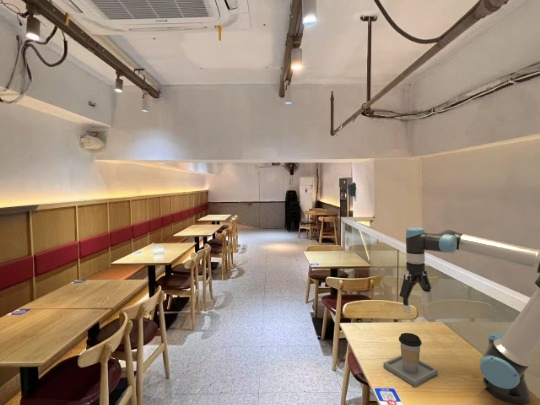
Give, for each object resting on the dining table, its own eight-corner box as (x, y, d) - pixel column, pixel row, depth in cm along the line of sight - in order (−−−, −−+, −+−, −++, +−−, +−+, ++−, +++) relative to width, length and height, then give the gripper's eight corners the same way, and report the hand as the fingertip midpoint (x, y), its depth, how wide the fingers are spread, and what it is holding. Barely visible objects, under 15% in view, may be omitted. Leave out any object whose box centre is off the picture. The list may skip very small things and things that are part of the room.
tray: (437, 375, 132) (437, 369, 132) (415, 387, 124) (415, 381, 124) (405, 357, 146) (405, 352, 146) (383, 367, 138) (383, 362, 138)
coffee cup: (424, 376, 129) (424, 343, 129) (401, 374, 131) (401, 341, 131) (418, 364, 138) (418, 332, 138) (396, 362, 140) (396, 331, 140)
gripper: (423, 256, 143) (424, 300, 144) (390, 264, 130) (391, 312, 131) (439, 259, 137) (439, 305, 138) (406, 268, 124) (406, 318, 125)
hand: (416, 308), depth 134 cm, fingers open, 13 cm apart
